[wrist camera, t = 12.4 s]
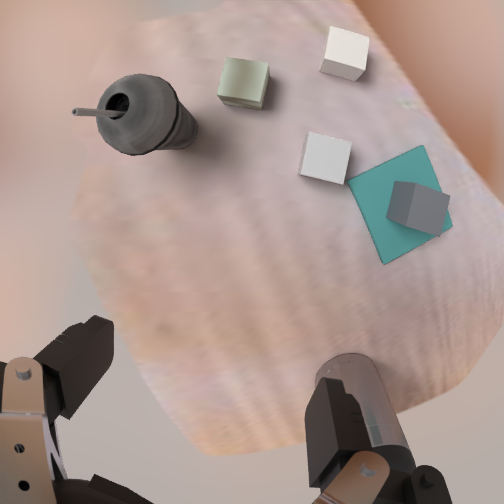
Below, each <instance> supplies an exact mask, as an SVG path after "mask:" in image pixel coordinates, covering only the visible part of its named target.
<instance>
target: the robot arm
mask: <svg viewBox="0 0 504 504" xmlns="http://www.w3.org/2000/svg"><path fill="white" fill-rule="evenodd" d="M113 356H114V324H113V322H112V321H110V320H107V319H104V318H102V317H99V316H97V315H94V316H92V317H91V318H90V319H89V320H88V321H87V322H86V323H84V324H83V323H78V324H75V325H72V326H70V327H68V328H67V329H66V330H65V331H64V332H62V334H61V335H59V336H58V337H57V338H56V339H55V340H53V341H52V342H51V343H50V344H49V345H47V346H46V347H45V348H44V349H43V350H42V351H41V352H40V353H38V354H37V355H36V356H35V357H34V358H33V359H32V358H28V357H19V358H15V359H13V360H11V361H10V362H9V363H8V364H7V363H4V362H0V504H153V503H152V502H150V501H148V500H146V499H145V498H143V497H141V496H140V495H138V494H137V493H135V492H133V491H132V490H130V489H128V488H127V487H124V486H121V485H119V484H117V483H114V482H112V481H109V480H107V479H105V478H102V477H100V476H98V475H96V474H94V476H93V477H92V479H91V481H88V480H81V479H68V478H67V474H66V471H65V469H64V465H63V461H62V456H61V451H60V446H59V440H58V434H57V427H56V422H55V419H56V418H57V417H58V416H59V415H61V416H63V417H65V418H67V419H69V420H70V418H71V417H72V416H73V414H74V413H75V412H76V410H77V409H78V407H79V406H80V405H81V404H82V402H83V401H84V400H85V398H86V397H87V396H88V394H89V393H90V392H91V390H92V389H93V388H94V386H95V385H96V384H97V383H98V381H99V380H100V379H101V378H102V376H103V375H104V373H105V372H106V371H107V370H108V369H109V367H110V365H111V363H112V360H113ZM315 387H316V389H315V391H314V393H313V395H312V397H311V399H310V401H309V403H308V406H307V408H306V412H305V430H306V443H307V456H308V470H309V487H315V488H320V489H321V494H320V495H319V497H318V498H317V499H316V500H315V501H314V502H313V503H312V504H452V501H451V497H450V495H449V491H448V488H447V486H446V483H445V480H444V477H443V475H442V474H441V473H440V472H439V471H438V470H437V469H435V468H434V467H432V466H428V465H421V466H418V467H417V468H416V465H415V461H414V458H413V456H412V453H411V451H410V449H409V446H408V443H407V440H406V438H405V435H404V433H403V431H402V428H401V426H400V424H399V421H398V419H397V416H396V414H395V411H394V409H393V407H392V404H391V402H390V400H389V397H388V395H387V393H386V390H385V388H384V386H383V383H382V381H381V379H380V376H379V374H378V372H377V370H376V368H375V365H374V363H373V362H372V361H371V360H370V359H369V358H368V357H366V356H363V355H361V354H344V355H340V356H337V357H335V358H333V359H331V360H329V361H328V362H327V363H326V364H324V365H323V366H322V368H321V369H320V370H319V372H318V373H317V376H316V379H315Z"/></svg>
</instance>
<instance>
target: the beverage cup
mask: <svg viewBox="0 0 504 504" xmlns="http://www.w3.org/2000/svg"><path fill="white" fill-rule="evenodd" d="M72 115H73V116H96V122H97V126H98V130H99V132H100V134H101V136H102V137H103V139H104V140H105V142H106V143H108V144H109V145H110V146H112V147H113V148H114V149H116V150H118V151H119V152H121V153H124V154H127V155H131V156H135V155H145V154H147V153H149V152H152V151H154V150H172V149H182V148H185V147H187V146H189V145H190V144H191V143H192V142H193V141H194V139H195V138H196V135H197V128H198V127H197V123H196V121H195V120H194V118H193V116H192V115H191V114H190V113H189V111H188V110H187V109H186V108H185V107H184V106H183V105H182V104H181V102H180V101H179V99H178V97H177V94H176V92H175V90H174V89H173V88H172V86H171V85H170V84H169V83H168V82H167V81H165V80H163V79H162V78H160V77H156V76H151V75H145V74H134V75H129V76H125V77H123V78H121V79H119V80H117V81H115V82H114V83H113V84H112V85H111V86H109V87H108V88H107V89H106V91H105V92H104V94H103V95H102V97H101V98H100V101H99V103H98V106H97V109H85V108H74V109H73V110H72Z"/></svg>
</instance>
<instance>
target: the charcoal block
mask: <svg viewBox="0 0 504 504" xmlns="http://www.w3.org/2000/svg"><path fill="white" fill-rule="evenodd" d="M449 199H450V195H447V194H445V193H442V192H439V191H437V190H434V189H432V188H429V187H426V186H423V185H421V184H418V183H413V182H402V181H394V185H393V190H392V194H391V198H390V202H389V207H388V211H387V214H386V218H388V219H390V220H393V221H395V222H397V223H399V224H402V225H404V226H406V227H410V228H413V229H416V230H420V231H423V232H426V233H429V234H432V235H436V236H439V237H440V235H441V231H442V228H443V224H444V220H445V216H446V212H447V208H448V204H449Z"/></svg>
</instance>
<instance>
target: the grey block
mask: <svg viewBox="0 0 504 504" xmlns="http://www.w3.org/2000/svg"><path fill="white" fill-rule="evenodd" d="M351 145H352V142H348V141H345V140H341V139H337V138H333V137H330V136H326V135H322V134H318V133H314V132H310V131H309V133H308V134H307V135H306V136H305V140H304V145H303V150H302V155H301V160H300V164H299V169H298V174H299V175H303V176H308V177H312V178H316V179H320V180H324V181H328V182H332V183H336V184H343V183H344V179H345V174H346V170H347V165H348V160H349V155H350V150H351Z"/></svg>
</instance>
